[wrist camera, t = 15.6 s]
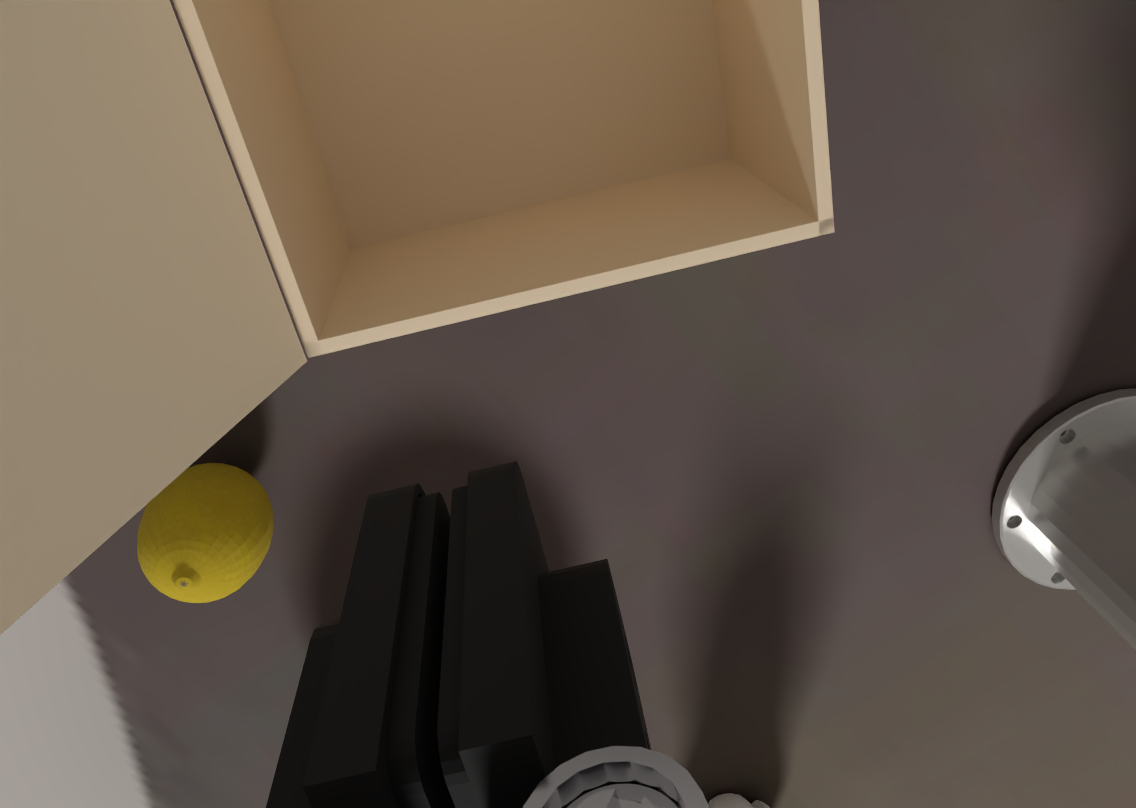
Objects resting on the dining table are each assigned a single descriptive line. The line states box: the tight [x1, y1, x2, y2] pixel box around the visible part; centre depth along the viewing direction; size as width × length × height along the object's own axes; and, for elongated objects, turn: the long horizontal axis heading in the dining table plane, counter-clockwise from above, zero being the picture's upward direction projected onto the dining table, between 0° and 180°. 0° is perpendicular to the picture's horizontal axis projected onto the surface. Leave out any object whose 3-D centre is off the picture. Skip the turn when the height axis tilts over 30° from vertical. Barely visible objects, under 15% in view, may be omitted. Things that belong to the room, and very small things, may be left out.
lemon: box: [137, 463, 274, 603], centre depth 40 cm, size 6×6×8 cm
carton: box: [173, 0, 834, 358], centre depth 31 cm, size 18×15×11 cm
